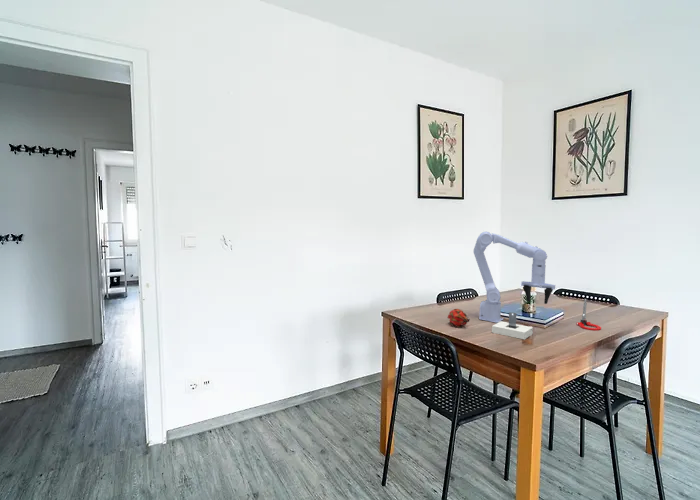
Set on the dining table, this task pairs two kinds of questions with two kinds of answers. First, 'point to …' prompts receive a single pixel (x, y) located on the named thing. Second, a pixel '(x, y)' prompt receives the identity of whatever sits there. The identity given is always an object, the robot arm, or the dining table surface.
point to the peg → (512, 320)
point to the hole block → (512, 330)
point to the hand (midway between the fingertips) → (537, 302)
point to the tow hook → (584, 321)
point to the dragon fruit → (458, 317)
